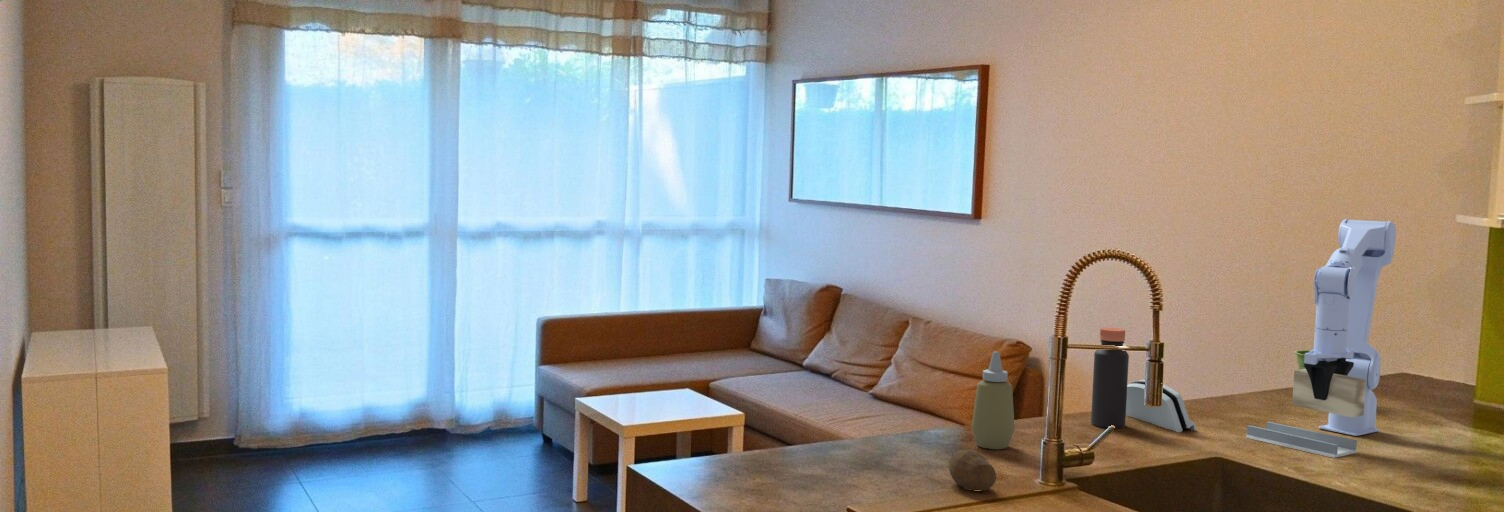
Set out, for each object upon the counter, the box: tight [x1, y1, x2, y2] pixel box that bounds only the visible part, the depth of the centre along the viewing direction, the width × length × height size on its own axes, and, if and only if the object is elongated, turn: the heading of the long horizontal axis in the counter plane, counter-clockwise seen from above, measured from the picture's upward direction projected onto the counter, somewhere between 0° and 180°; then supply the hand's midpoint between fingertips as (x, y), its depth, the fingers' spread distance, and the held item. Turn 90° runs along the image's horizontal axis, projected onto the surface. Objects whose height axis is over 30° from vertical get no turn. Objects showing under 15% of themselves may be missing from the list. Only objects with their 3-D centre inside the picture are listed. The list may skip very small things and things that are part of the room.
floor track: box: [1245, 421, 1358, 459], centre depth 226 cm, size 8×18×2 cm, turn 35°
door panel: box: [1291, 369, 1366, 417], centre depth 225 cm, size 4×12×7 cm, turn 35°
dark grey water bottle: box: [1090, 327, 1130, 429], centre depth 238 cm, size 7×7×20 cm
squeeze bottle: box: [971, 351, 1015, 450], centre depth 218 cm, size 8×8×18 cm
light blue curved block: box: [1126, 379, 1198, 433], centre depth 242 cm, size 17×5×10 cm, turn 20°
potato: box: [948, 449, 997, 491], centre depth 190 cm, size 7×10×6 cm
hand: (1326, 398), depth 225 cm, fingers closed on door panel, 4 cm apart
